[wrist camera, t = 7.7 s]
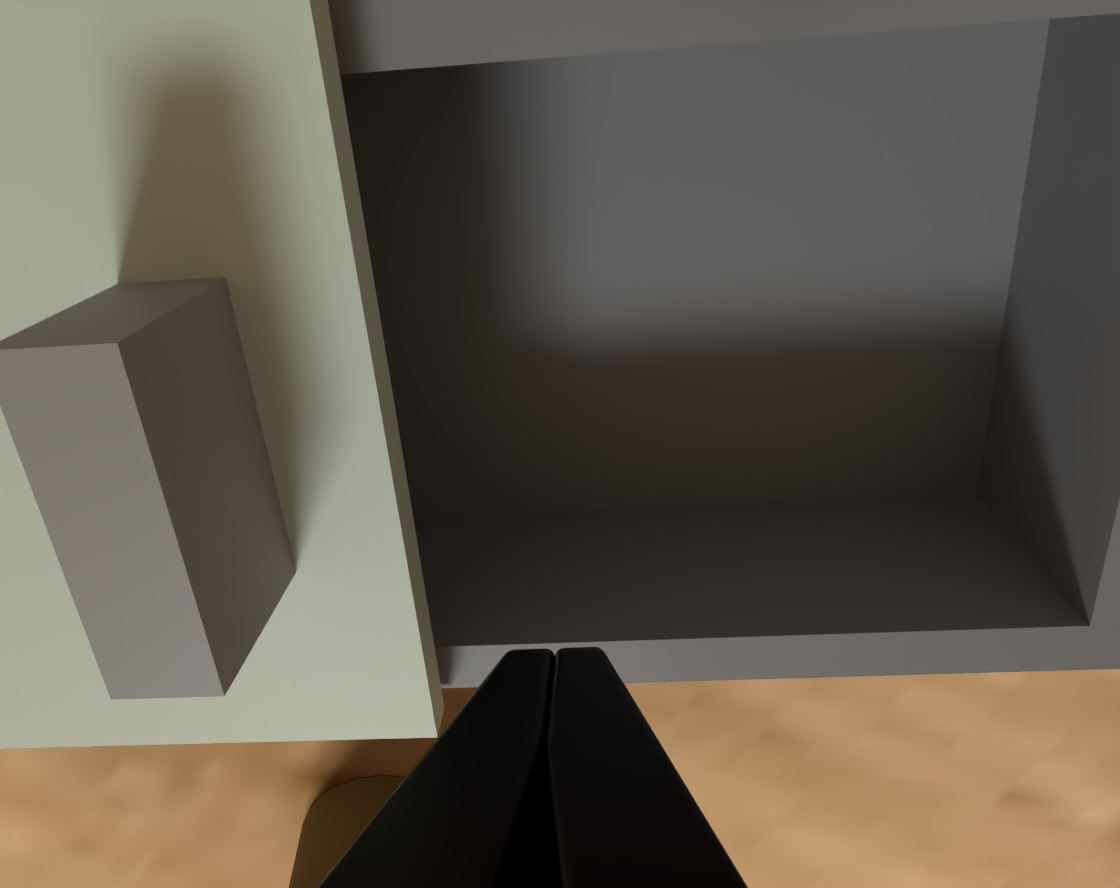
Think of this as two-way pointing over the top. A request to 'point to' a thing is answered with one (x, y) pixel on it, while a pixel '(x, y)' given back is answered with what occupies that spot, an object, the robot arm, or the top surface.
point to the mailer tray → (751, 327)
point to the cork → (337, 825)
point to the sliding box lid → (195, 390)
